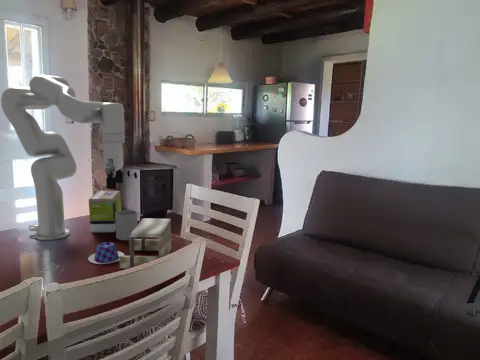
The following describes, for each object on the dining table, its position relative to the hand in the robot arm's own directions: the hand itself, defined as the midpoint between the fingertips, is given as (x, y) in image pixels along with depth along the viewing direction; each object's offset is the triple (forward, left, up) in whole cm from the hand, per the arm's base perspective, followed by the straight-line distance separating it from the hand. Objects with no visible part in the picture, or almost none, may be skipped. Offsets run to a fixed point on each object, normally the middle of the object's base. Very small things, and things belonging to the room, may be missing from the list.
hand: (115, 185), depth 139 cm
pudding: (-1, -10, -24) cm, 26 cm away
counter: (+13, -10, -24) cm, 29 cm away
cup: (0, +12, -24) cm, 27 cm away
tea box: (-12, +24, -24) cm, 36 cm away
